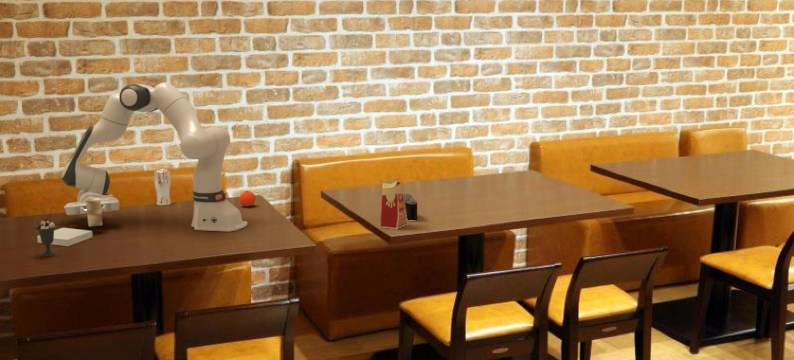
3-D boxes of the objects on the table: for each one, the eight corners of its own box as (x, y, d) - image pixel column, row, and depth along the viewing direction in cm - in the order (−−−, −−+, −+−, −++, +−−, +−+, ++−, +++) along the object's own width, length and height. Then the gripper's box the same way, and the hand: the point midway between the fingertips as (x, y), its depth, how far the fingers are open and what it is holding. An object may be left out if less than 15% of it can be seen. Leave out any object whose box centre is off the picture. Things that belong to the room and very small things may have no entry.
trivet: (92, 237, 365) (92, 230, 364) (67, 246, 352) (67, 239, 351) (63, 233, 370) (63, 227, 369) (37, 242, 357) (37, 236, 356)
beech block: (101, 222, 374) (99, 197, 372) (102, 225, 369) (100, 199, 367) (87, 223, 372) (85, 198, 370) (89, 226, 367) (87, 201, 365)
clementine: (237, 205, 418) (236, 189, 416) (252, 203, 421) (252, 188, 419) (242, 209, 411) (241, 192, 409) (257, 207, 414) (257, 191, 412)
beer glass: (167, 206, 416) (165, 172, 414) (152, 205, 418) (151, 171, 415) (174, 202, 423) (172, 169, 420) (159, 201, 425) (158, 168, 422)
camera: (424, 219, 391) (425, 196, 389) (411, 222, 387) (411, 198, 385) (404, 212, 403) (404, 189, 401) (391, 215, 399) (391, 191, 397)
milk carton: (407, 225, 382) (407, 176, 378) (397, 230, 374) (397, 180, 370) (387, 222, 386) (386, 174, 382) (377, 228, 378) (376, 178, 374)
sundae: (62, 252, 344) (59, 212, 341) (49, 257, 337) (46, 216, 334) (47, 251, 346) (44, 210, 343) (34, 255, 339) (31, 215, 336)
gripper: (62, 198, 377) (65, 205, 364) (116, 193, 384) (120, 200, 372) (64, 214, 378) (66, 221, 365) (117, 209, 386) (121, 216, 373)
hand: (94, 210), depth 369 cm, fingers closed on beech block, 5 cm apart
